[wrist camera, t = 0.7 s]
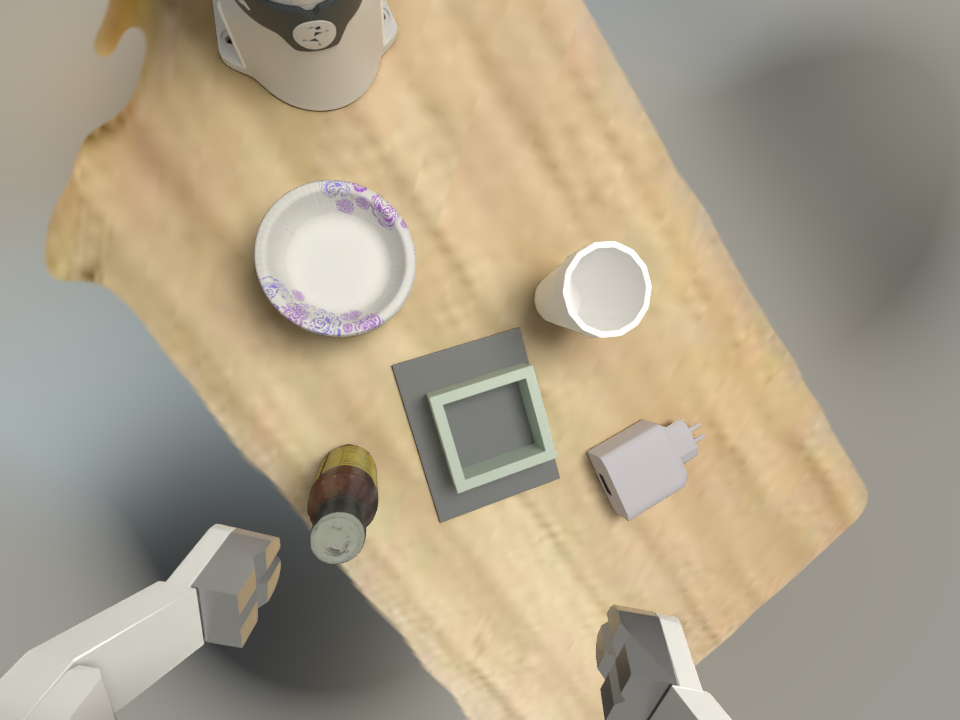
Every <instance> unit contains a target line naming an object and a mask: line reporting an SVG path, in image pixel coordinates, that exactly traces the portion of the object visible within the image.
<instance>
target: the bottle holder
mask: <svg viewBox="0 0 960 720" xmlns="http://www.w3.org/2000/svg"><path fill="white" fill-rule="evenodd" d="M515 381H518V385H519V388H520V392H521V396H522V399H523V403H524V407H525V410H526V414H527V417H528V421H529V425H530V428H531V432H532V436H533V439H534V443H533V444H530V445H528V446H525V447H522V448H519V449H516V450H514V451H511V452H508V453H505V454H502V455H499V456H497V457H494V458H491V459H488V460H485V461H482V462H480V463H477V464H474V465H471V466H468V467H465V468H463V469H462V468H461V464H460V461H459V458H458V454H457V451H456V447H455V444H454V441H453V437H452V434H451V431H450V427H449V424H448V421H447V417H446V414H445V410H444V407H443V405H444V404H447V403H450V402H453V401H457V400H460V399H463V398H466V397H469V396H472V395H475V394H478V393H481V392H484V391H488V390H491V389H494V388H497V387H500V386H503V385H506V384H509V383H512V382H515ZM426 395H427V399H428V402H429V405H430V409H431V412H432V415H433V419H434V422H435V425H436V429H437V432H438V435H439V439H440V442H441V445H442V449H443V452H444V455H445V459H446V462H447V465H448V469H449V472H450V475H451V478H452V482H453V484H454V486H455V488H456V490H457V492H458V493H461V492H464V491H466V490H469V489H472V488H475V487H477V486H480V485H483V484H486V483H488V482H491V481H494V480H497V479H499V478H502V477H505V476H508V475H510V474H513V473H516V472H519V471H521V470H524V469H527V468H530V467H532V466H535V465H538V464H541V463H543V462H546V461H549V460H552V459H554V458H557V453H556V449H555V446H554V442H553V438H552V434H551V431H550V427H549V423H548V420H547V416H546V412H545V408H544V405H543V401H542V397H541V394H540V390H539V386H538V383H537V379H536V375H535V371H534V368H533V365H530V364H525V363H520V364H517V365H514V366H511V367H507V368H504V369H501V370H498V371H495V372H492V373H488V374H485V375H482V376H479V377H476V378H473V379H469V380H466V381H463V382H460V383H457V384H454V385H450V386H447V387H444V388H441V389H438V390H435V391H431V392H428V393H426Z"/></svg>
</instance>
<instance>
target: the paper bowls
mask: <svg viewBox="0 0 960 720" xmlns="http://www.w3.org/2000/svg"><path fill="white" fill-rule="evenodd" d="M254 259H255V268H256V272H257V277H258V279H259V282H260V285H261V287H262V289H263V291H264V293H265V295H266V296H267V298H268V299H269V301H270V302H271V304H272V305H273V306H274V307H275V308H276V309H277V310H278V311H279V312H280V313H281V314H282V315H283V316H284V317H285V318H286V319H288V320H289V321H290V322H292V323H294V324H295V325H297V326H299V327H301V328H303V329H305V330H307V331H309V332H312V333H315V334H319V335H324V336H330V337H350V336H356V335H361V334H364V333H367V332H370V331H373V330H375V329H377V328H379V327H380V326H382V325H383V324H385V323H386V322H387V321H389V320H390V319H391V318H392V317H393V316H394V315H395V314H396V313H397V312H398V311H399V310H400V309H401V307H402V306H403V304H404V303H405V301H406V300H407V298H408V296H409V294H410V291H411V289H412V286H413V283H414V278H415V272H416V252H415V246H414V243H413V239H412V236H411V233H410V231H409V229H408V227H407V225H406V223H405V222H404V220H403V218H402V217H401V215H400V214H399V213H398V212H397V210H396V209H395V208H394V207H393V206H392V205H391V204H390V203H388V202H387V201H386V200H385V199H384V198H383V197H381V196H380V195H379V194H377V193H375V192H374V191H372V190H370V189H368V188H366V187H363V186H361V185H358V184H354V183H351V182H346V181H340V180H322V181H314V182H310V183H307V184H304V185H301V186H299V187H297V188H294V189H293V190H291V191H289V192H287V193H286V194H285V195H283V196H282V197H281V198H280V199H278V200H277V201H276V202H275V203H274V204H273V206H272V207H271V208H270V209H269V210H268V212H267V213H266V215H265V217H264V218H263V220H262V222H261V224H260V226H259V229H258V232H257V236H256V240H255V248H254Z"/></svg>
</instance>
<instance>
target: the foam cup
mask: <svg viewBox="0 0 960 720" xmlns="http://www.w3.org/2000/svg"><path fill="white" fill-rule="evenodd" d="M651 288H652V285H651V282H650V278H649V274H648V270H647V266H646V265H645V264H644V262H643V261H642V260H641V259H640V257H639V256H638V255H637V254H636V252H635V251H634V250H633V249H631V248H629V247H627V246H625V245H622V244H620V243H618V242H616V241H608V242H594V243H592V244H590V245H587V246H585V247H583V248H582V249H580V250H578V251H576V252H575V253H573V254H571V255H570V256H568V257H567V259H566V260H565V262H564V263H562V264H561V265H560V266H559V267H557V268H556V269H555V270H554V271H552V272H551V273H550V274H549V275H547V276H546V277H545V278H544V279H543V280H541V282H540V284H539V285H538V287H537V288H536V290H535V298H534V302H535V306H536V309H537V312H538V313H539V314H540V315H541V317H542V318H543V319H544V320H546V321H548V322H551V323H553V324H556V325H559V326H562V327H565V328H568V329H571V330H574V331H576V332H579V333H581V334H583V335H586V336H588V337H593V338H603V337H614V336H621V335H623V334H624V333H626V332H628V331H629V330H631V329H632V328H634V327H635V326H637V325H638V324H639V322H640V321H641V319H642V317H643V316H644V314H645V312H646V311H647V309H648V308H649V302H650V295H651Z"/></svg>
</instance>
